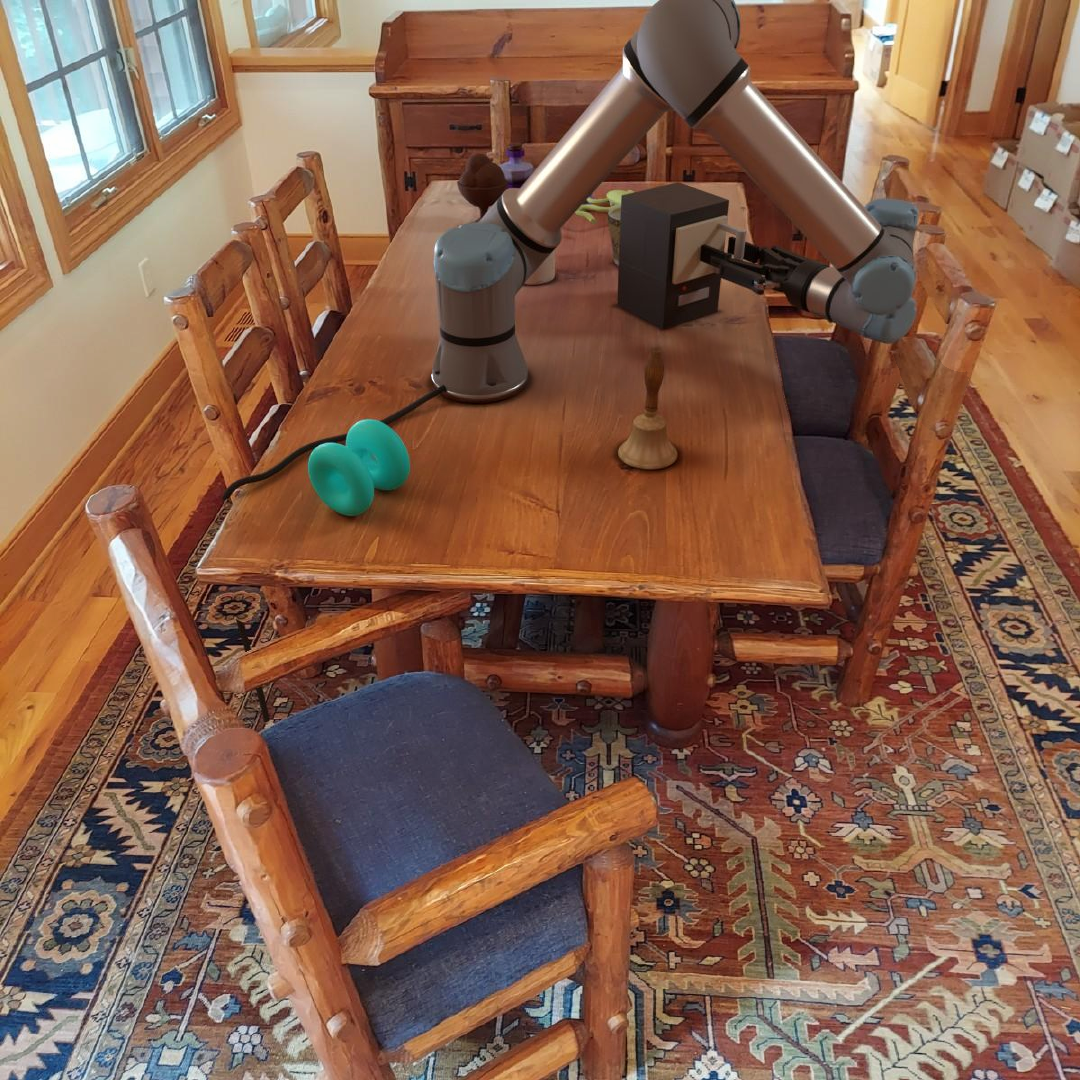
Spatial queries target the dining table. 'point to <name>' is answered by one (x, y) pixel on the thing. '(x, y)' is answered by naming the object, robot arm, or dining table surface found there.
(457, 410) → the dining table surface
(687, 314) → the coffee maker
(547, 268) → the teacup with lid
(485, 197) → the ice cream bowl
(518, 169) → the potion bottle
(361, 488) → the teal yo-yo
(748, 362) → the dining table surface
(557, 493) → the dining table surface
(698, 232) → the chamber door
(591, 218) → the figurine
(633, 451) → the hand bell
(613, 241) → the ceramic cup
